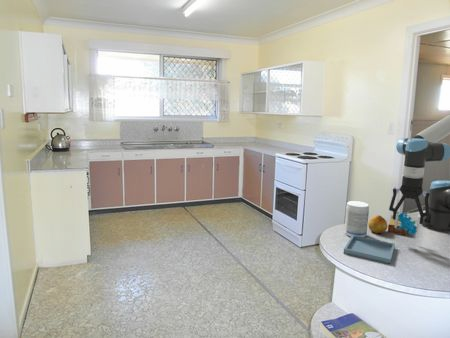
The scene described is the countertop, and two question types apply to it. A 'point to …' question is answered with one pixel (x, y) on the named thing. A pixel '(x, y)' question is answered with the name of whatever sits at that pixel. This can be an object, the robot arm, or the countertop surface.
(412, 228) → the gear
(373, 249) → the tray
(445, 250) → the countertop surface
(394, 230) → the carton
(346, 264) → the countertop surface
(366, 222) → the supplement tub
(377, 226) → the fruit
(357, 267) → the countertop surface
